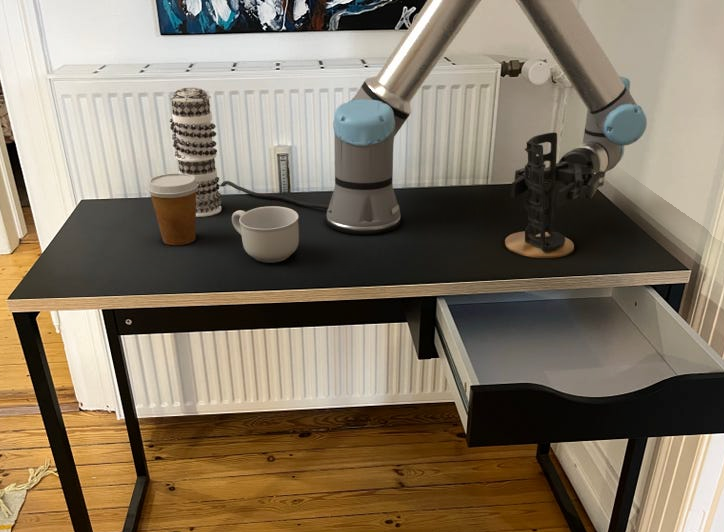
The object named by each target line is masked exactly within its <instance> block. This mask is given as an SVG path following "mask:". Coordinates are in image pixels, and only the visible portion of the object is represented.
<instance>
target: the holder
mask: <svg viewBox="0 0 724 532" xmlns="http://www.w3.org/2000/svg"><path fill="white" fill-rule="evenodd" d="M545 143H550V151H549V152H548V153H544V146H543V144H545ZM524 151H525V152H526V153H527V162H526V164H525V165H524V168H525V184H526V185H527V186H528V190H527V197H526V199H524V209H525V210H526V211H527V218H528V220H529V221H530V223H528V224H527V225H526V226H525V229H524V231H525V242H526V243H530V244H531V245H533V246H535V247H538V248H541V250H543V251H544V253H548V252H551V251H554V250H556V249H558V248H560V247H561V246H562V245H563V244H564V243H565V237H566V236H565V235H564V234H562V233H561V232H559V231H555V230H554V227H553V225H554V223H553V222H554V213H555V212H554V211H555V195H556V183H555V176H556V163H557V154H558V153H557V152H558V133H557V132H546V133H542V134H539V135H534V136H532V137H531V138H530V139H528V140H527V141H526V148H524ZM545 162H549V166H550V170H549V172H545V173H544V163H545ZM546 179H548V180H550V183H548V184H549V185H548V186H549V187H548V188H547V189H545V183H544V180H546ZM537 181H539V184H538V185H537V184H536V183H537ZM546 198H548V203H547V206H546V202H545V199H546ZM546 215H547V219H546ZM538 217H539V221H538V220H537V218H538ZM546 220H547V221H546ZM545 232H548V234H550V235H552V236H551V237H545ZM538 234H540V237H536V235H538ZM545 244H550V245H548V246H545Z"/></svg>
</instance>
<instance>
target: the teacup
mask: <svg viewBox="0 0 724 532" xmlns="http://www.w3.org/2000/svg"><path fill="white" fill-rule="evenodd" d="M299 218H300V216H299V213H298V212H297V211H295V209H292V208H289V207H286V206H279V205H278V206H277V205H271V206H269V205H268V206H260V207H256V208H253V209H252V208H251V209H249V210H246V211H245V210H241V209H239V210H236V211H234V212H233V213H232V215H231V222H232V226H233V228H234V229H235V230H236V232H237V233H238V234H239V235H240V236H241V240H242V246H243V249H244V251H245V253H247V255H248V256H250V257H252V258H253V259H255V260H256V261H258V262H261V263H268V264H269V263H279V262H282V261H285V260H286V259H288V258H290V256H292V255H293V254H294V253H295V252H296V251H297V249H298V247H299V241H300V231H299V230H300V228H299Z"/></svg>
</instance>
